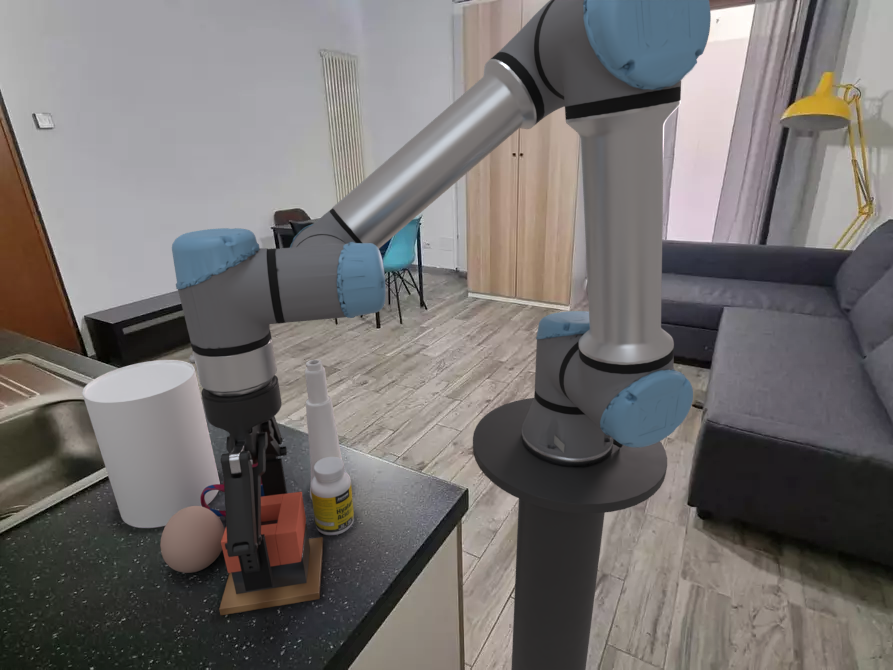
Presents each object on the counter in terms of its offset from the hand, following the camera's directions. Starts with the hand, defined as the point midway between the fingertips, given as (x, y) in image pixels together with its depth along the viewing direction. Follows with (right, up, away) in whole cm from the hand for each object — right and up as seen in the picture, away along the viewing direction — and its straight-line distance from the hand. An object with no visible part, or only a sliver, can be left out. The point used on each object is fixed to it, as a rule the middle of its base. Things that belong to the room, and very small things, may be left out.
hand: (269, 540), depth 58 cm
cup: (-8, -2, +12) cm, 15 cm away
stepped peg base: (0, -5, +2) cm, 6 cm away
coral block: (0, -1, 0) cm, 1 cm away
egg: (-10, -5, +4) cm, 12 cm away
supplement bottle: (+6, -2, +11) cm, 12 cm away
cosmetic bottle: (+3, 0, +17) cm, 17 cm away
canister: (-21, 0, +17) cm, 27 cm away
